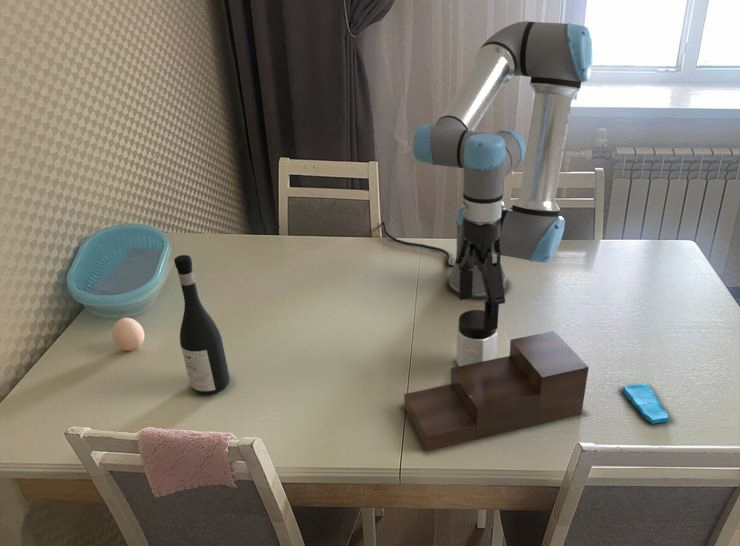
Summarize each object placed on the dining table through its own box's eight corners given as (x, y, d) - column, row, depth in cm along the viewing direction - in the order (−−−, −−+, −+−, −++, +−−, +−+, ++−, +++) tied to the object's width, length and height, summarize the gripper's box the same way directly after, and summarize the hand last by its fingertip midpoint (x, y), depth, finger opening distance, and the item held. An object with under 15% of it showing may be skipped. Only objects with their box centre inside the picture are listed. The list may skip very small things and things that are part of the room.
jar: (451, 372, 149) (452, 325, 142) (461, 352, 155) (462, 306, 149) (491, 379, 147) (493, 332, 140) (499, 359, 153) (502, 313, 147)
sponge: (642, 421, 133) (671, 416, 133) (621, 385, 143) (648, 381, 143) (641, 427, 134) (670, 422, 134) (621, 391, 144) (648, 386, 144)
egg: (110, 353, 155) (101, 323, 151) (130, 338, 160) (122, 309, 156) (134, 358, 153) (125, 329, 149) (153, 343, 159) (145, 314, 154)
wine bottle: (209, 401, 140) (179, 270, 124) (183, 389, 144) (150, 260, 127) (238, 382, 146) (213, 254, 129) (212, 370, 149) (184, 245, 133)
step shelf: (404, 407, 139) (402, 361, 132) (549, 375, 148) (554, 330, 142) (426, 451, 128) (426, 402, 121) (581, 413, 137) (588, 367, 130)
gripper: (441, 198, 141) (440, 289, 152) (489, 245, 121) (484, 346, 133) (475, 194, 143) (471, 284, 154) (527, 240, 123) (519, 339, 135)
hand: (477, 313), depth 143 cm, fingers open, 13 cm apart
